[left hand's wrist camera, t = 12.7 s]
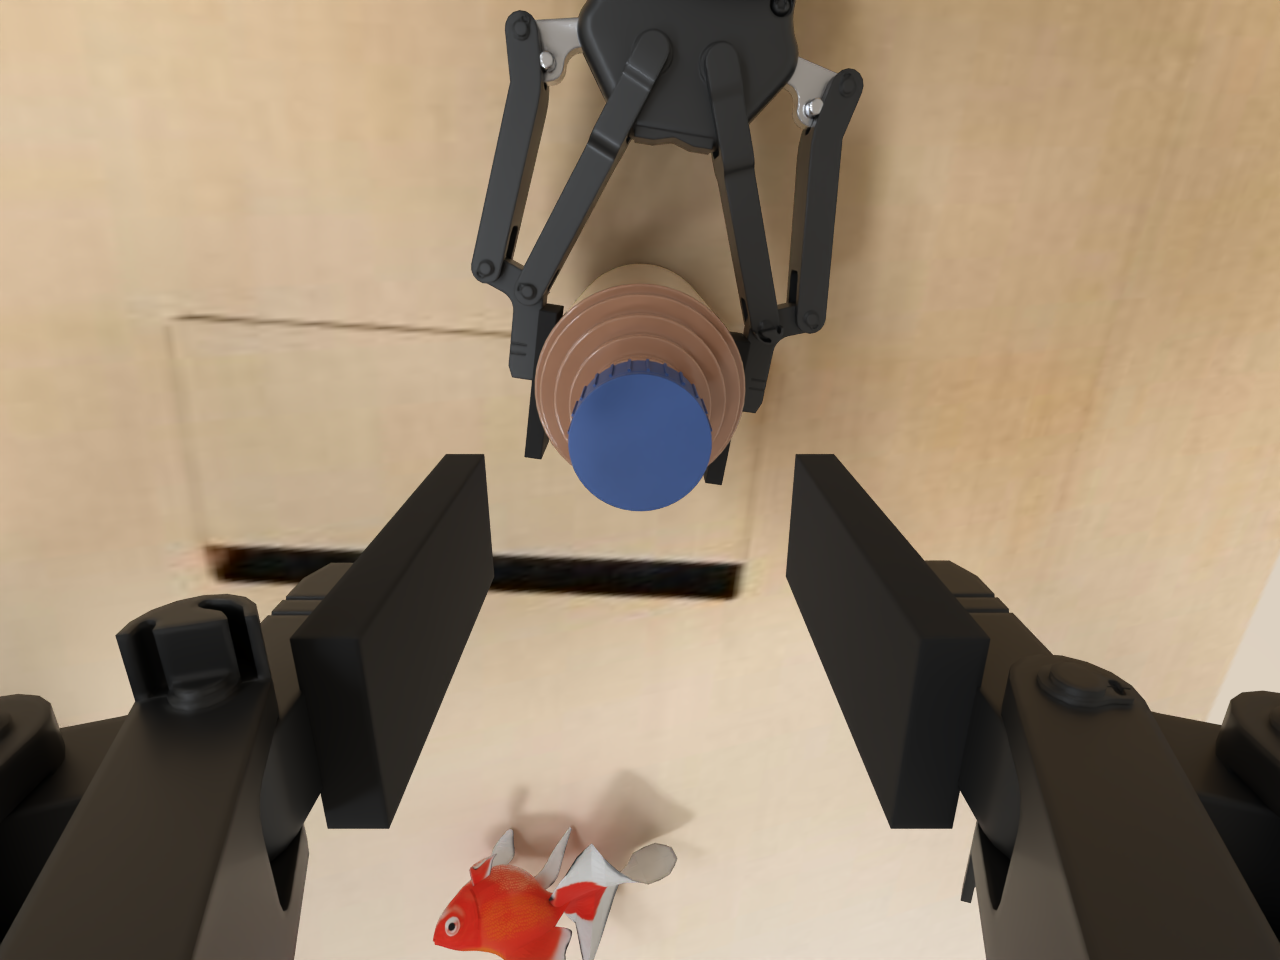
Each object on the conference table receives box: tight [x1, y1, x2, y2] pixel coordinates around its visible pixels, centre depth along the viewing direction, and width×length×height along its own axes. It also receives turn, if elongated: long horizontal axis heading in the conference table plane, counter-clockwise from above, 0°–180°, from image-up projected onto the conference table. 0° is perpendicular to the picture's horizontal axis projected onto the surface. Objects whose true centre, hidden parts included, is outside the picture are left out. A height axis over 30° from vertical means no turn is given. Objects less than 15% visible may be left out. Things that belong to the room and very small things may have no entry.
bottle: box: [535, 263, 745, 465], centre depth 28 cm, size 8×8×19 cm
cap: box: [568, 359, 712, 511], centre depth 20 cm, size 4×4×2 cm
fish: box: [433, 827, 677, 960], centre depth 45 cm, size 11×16×10 cm
